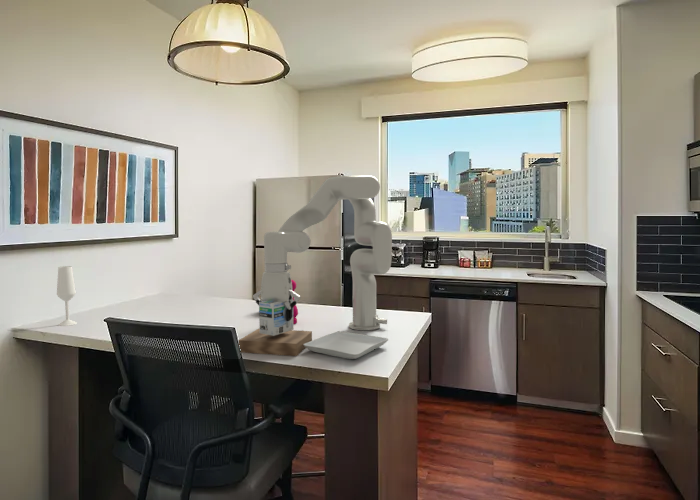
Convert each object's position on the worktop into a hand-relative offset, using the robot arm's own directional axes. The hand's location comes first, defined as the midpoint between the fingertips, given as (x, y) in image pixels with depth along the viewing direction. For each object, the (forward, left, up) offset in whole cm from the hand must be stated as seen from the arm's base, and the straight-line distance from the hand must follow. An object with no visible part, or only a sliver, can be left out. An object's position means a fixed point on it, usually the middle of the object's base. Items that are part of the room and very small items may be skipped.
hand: (276, 319), depth 148 cm
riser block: (0, 0, -9) cm, 9 cm away
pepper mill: (+8, -34, -10) cm, 36 cm away
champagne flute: (+98, -13, -10) cm, 99 cm away
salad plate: (-24, -2, -10) cm, 26 cm away
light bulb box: (0, 0, -4) cm, 4 cm away
